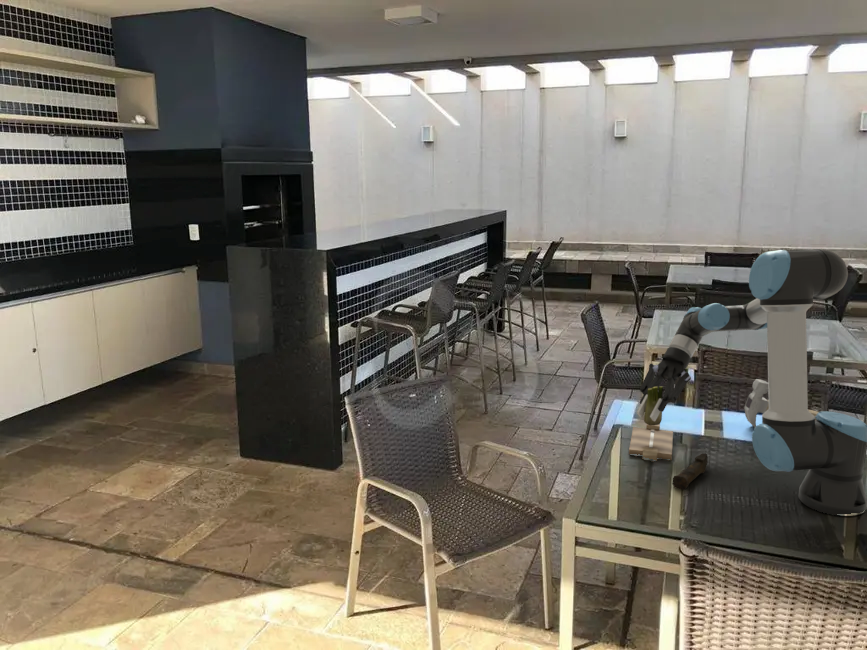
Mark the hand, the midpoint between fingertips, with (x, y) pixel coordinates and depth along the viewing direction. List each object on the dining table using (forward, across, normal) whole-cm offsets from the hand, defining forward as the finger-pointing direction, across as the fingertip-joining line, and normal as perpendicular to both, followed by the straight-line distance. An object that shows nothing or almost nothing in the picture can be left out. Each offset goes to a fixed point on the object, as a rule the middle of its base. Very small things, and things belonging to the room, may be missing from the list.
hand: (645, 416), depth 209 cm
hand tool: (+12, -19, -3) cm, 23 cm away
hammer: (-27, -23, -42) cm, 55 cm away
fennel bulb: (0, 0, -5) cm, 5 cm away
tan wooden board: (+5, 0, -10) cm, 11 cm away
